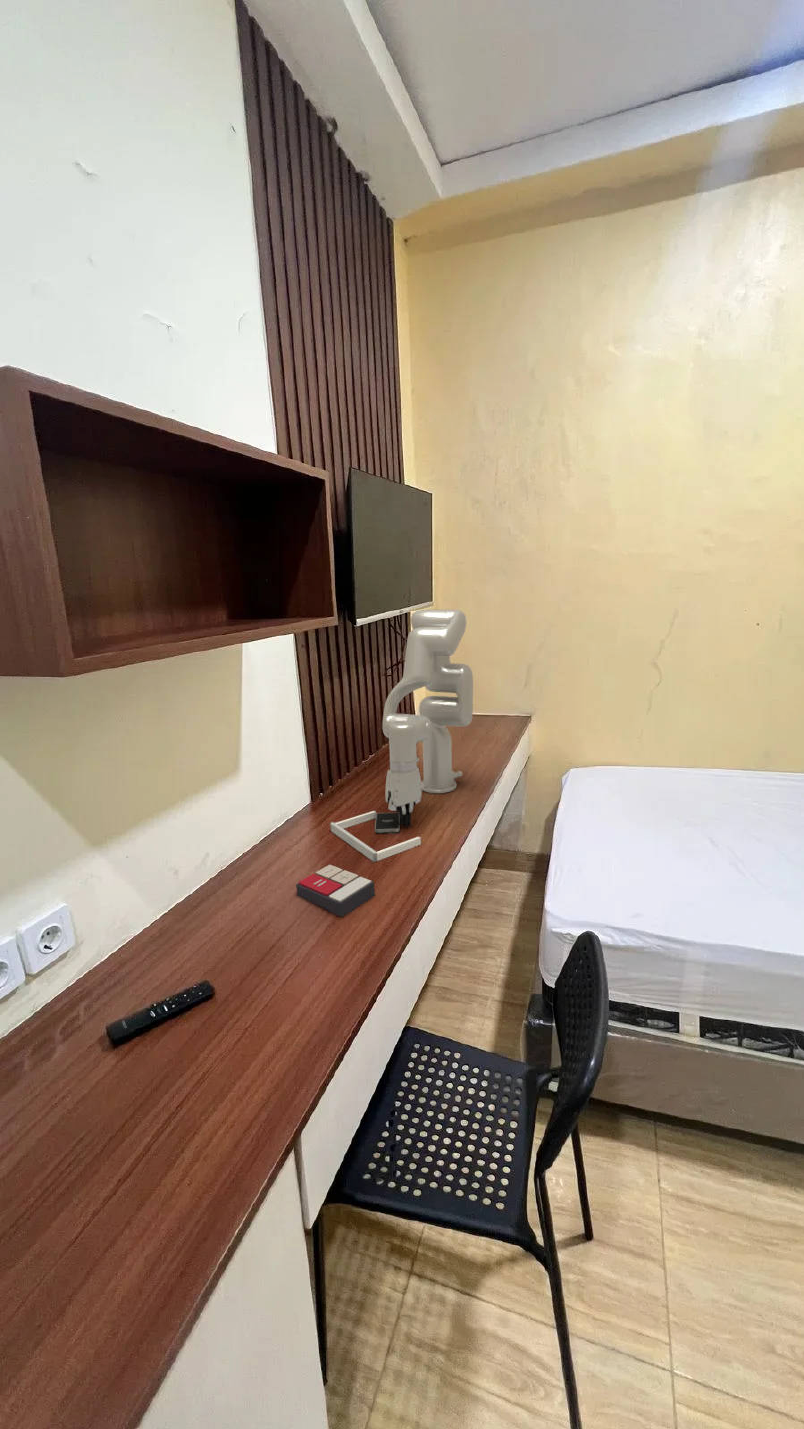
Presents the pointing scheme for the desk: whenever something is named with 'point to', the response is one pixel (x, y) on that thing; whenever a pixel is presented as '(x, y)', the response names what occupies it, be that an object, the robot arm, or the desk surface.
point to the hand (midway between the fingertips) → (405, 824)
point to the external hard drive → (387, 823)
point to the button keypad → (336, 890)
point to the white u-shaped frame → (363, 848)
